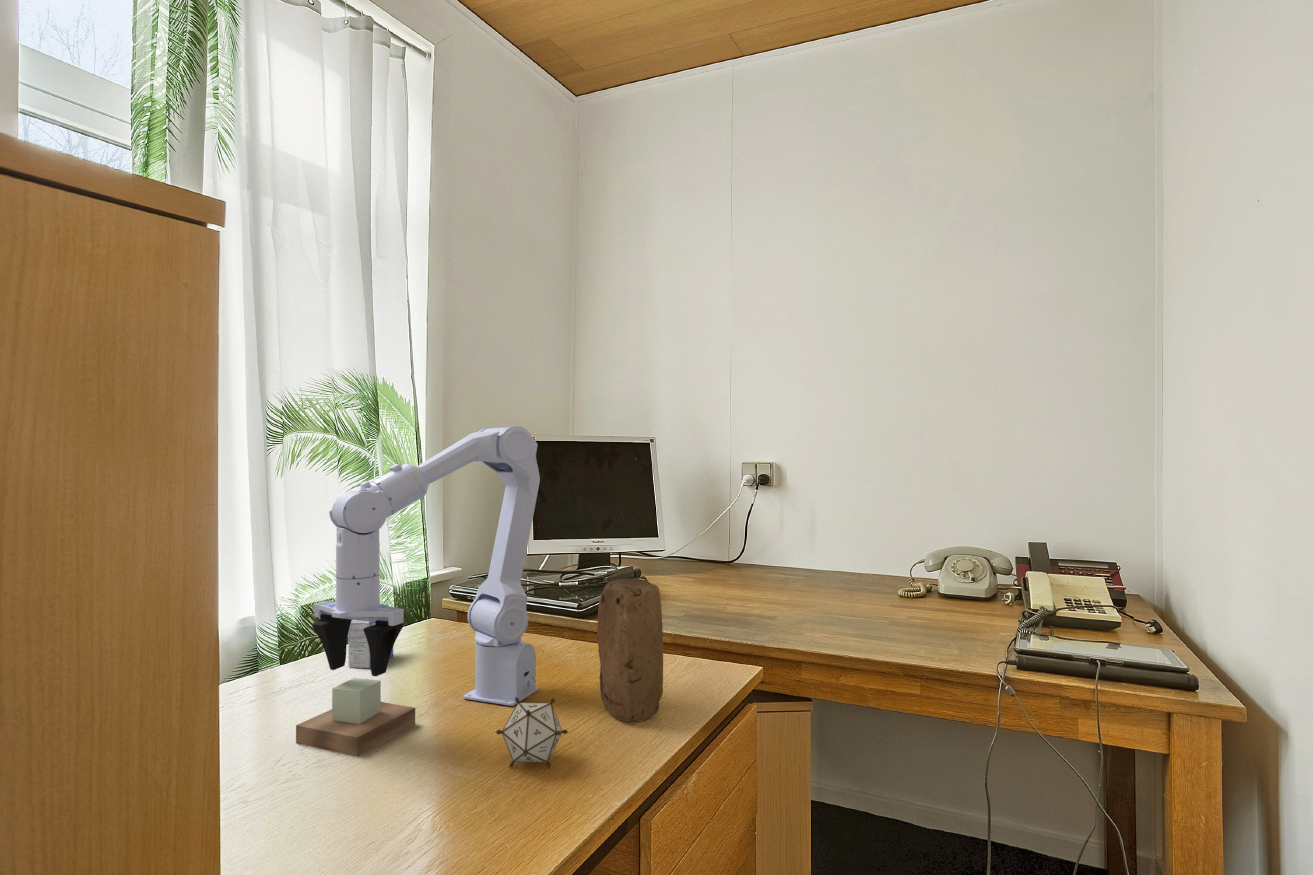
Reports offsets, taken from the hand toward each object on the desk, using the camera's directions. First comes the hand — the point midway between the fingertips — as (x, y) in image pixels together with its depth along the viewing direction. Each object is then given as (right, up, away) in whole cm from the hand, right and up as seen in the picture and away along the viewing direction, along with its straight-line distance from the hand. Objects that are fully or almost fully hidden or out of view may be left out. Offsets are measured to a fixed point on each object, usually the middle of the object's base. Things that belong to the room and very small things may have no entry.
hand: (358, 670), depth 97 cm
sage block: (0, -6, 0) cm, 6 cm away
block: (+38, -9, +8) cm, 40 cm away
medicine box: (-11, -10, +32) cm, 35 cm away
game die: (+26, -9, -9) cm, 29 cm away
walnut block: (0, -9, 0) cm, 9 cm away
